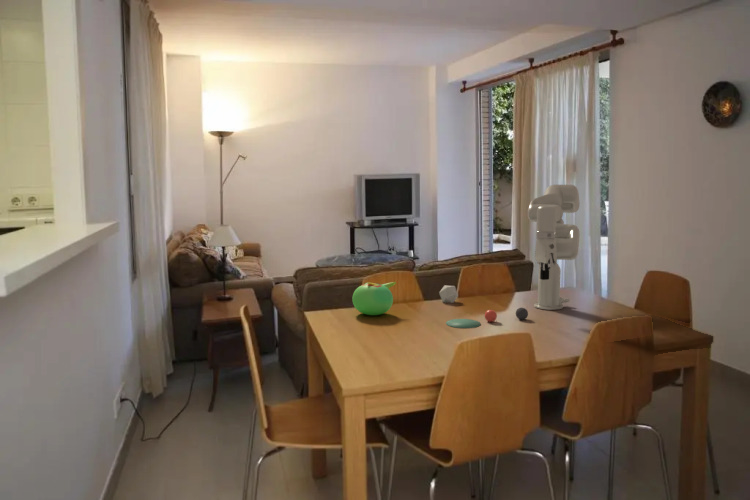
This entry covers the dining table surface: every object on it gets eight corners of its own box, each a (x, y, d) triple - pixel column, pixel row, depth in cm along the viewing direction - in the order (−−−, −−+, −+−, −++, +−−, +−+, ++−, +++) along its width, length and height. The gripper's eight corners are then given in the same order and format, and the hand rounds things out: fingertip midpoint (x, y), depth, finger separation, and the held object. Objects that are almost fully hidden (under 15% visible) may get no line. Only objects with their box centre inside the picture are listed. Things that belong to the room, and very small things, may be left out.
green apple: (346, 316, 246) (345, 283, 244) (364, 308, 261) (364, 276, 259) (383, 321, 238) (382, 286, 236) (400, 312, 253) (400, 279, 251)
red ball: (493, 319, 238) (493, 308, 237) (498, 322, 233) (499, 310, 232) (482, 320, 237) (482, 308, 236) (487, 323, 232) (487, 311, 231)
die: (460, 302, 273) (452, 284, 277) (461, 297, 266) (452, 279, 269) (444, 308, 273) (436, 291, 277) (445, 303, 265) (436, 285, 269)
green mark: (472, 318, 240) (472, 317, 240) (486, 326, 227) (486, 326, 227) (441, 320, 237) (441, 320, 237) (453, 329, 224) (453, 328, 224)
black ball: (524, 317, 241) (524, 306, 240) (530, 320, 236) (530, 308, 235) (513, 318, 240) (513, 306, 239) (519, 321, 235) (519, 309, 234)
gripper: (563, 237, 229) (562, 282, 231) (544, 233, 243) (543, 276, 246) (546, 237, 227) (545, 283, 230) (528, 234, 242) (527, 276, 244)
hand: (544, 279), depth 238 cm, fingers closed
